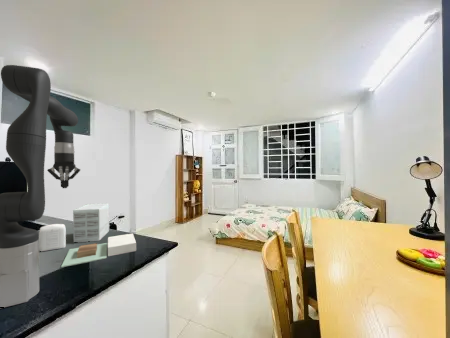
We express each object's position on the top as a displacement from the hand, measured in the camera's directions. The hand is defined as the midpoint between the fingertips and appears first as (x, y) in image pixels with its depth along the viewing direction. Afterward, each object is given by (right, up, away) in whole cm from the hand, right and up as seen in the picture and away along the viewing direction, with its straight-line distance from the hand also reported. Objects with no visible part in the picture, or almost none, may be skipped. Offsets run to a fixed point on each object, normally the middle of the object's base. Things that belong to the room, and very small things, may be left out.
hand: (64, 188), depth 97 cm
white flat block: (+25, -31, +5) cm, 40 cm away
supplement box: (0, -31, +21) cm, 37 cm away
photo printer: (-9, -31, +3) cm, 33 cm away
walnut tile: (+13, -29, -2) cm, 32 cm away
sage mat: (+13, -31, -3) cm, 34 cm away
